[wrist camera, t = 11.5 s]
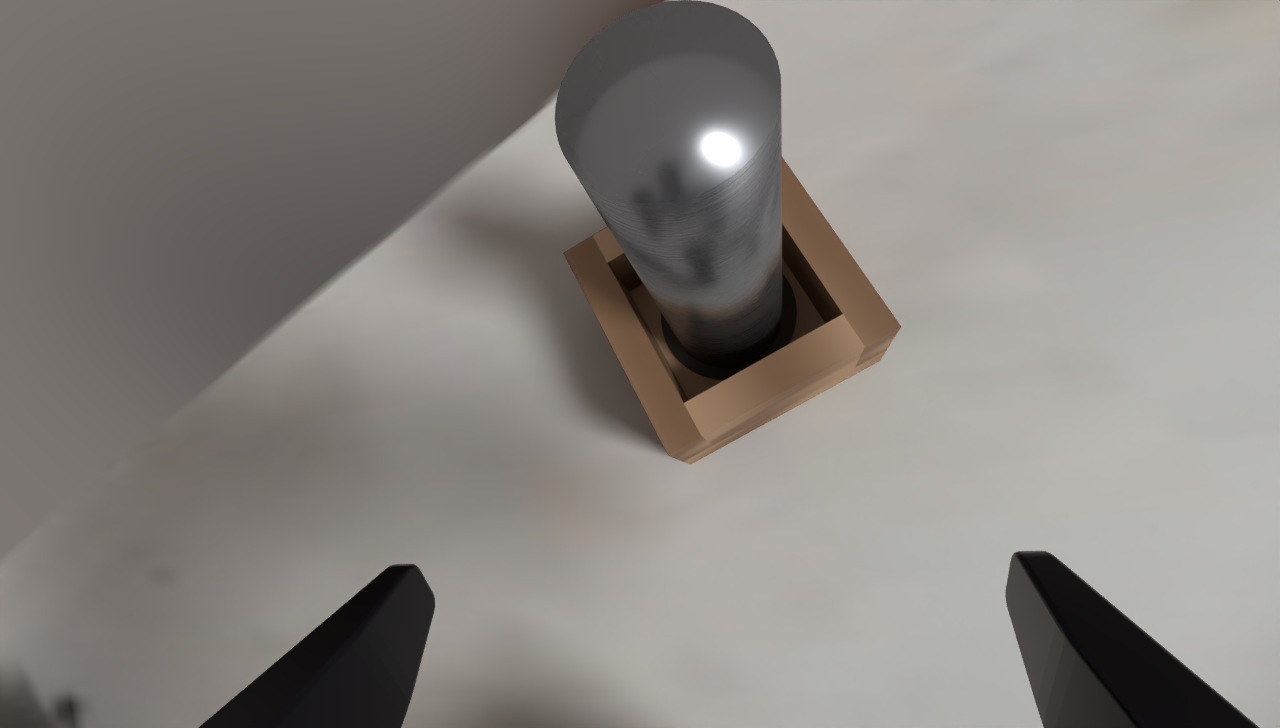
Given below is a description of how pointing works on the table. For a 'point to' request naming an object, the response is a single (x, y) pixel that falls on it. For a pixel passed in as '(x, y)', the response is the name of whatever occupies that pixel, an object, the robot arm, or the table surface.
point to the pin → (686, 167)
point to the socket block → (774, 383)
